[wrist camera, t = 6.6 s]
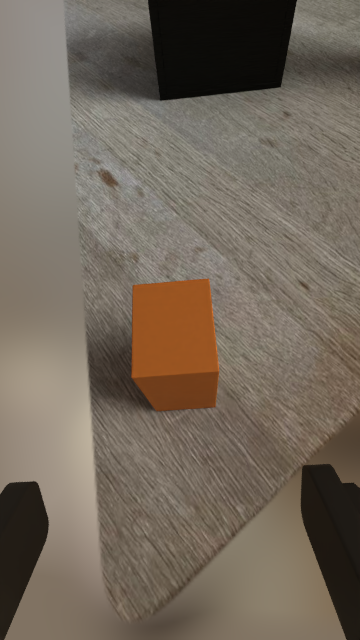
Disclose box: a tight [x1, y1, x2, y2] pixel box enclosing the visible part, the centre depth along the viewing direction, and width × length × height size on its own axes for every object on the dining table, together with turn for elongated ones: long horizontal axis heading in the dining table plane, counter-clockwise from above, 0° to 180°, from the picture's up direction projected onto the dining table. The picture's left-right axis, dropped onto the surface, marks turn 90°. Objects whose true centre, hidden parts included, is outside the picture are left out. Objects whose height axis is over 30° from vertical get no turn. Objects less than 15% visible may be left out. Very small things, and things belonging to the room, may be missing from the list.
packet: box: [131, 279, 219, 411], centre depth 19 cm, size 4×5×8 cm
